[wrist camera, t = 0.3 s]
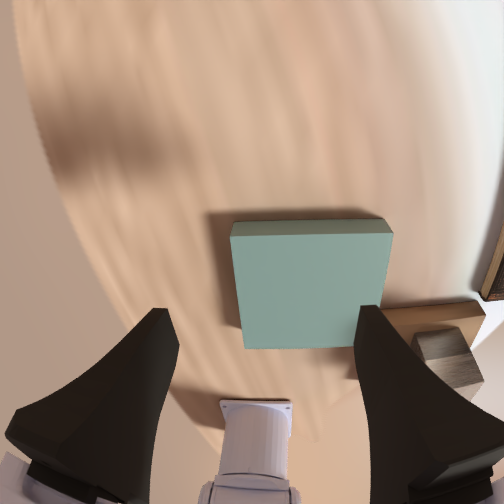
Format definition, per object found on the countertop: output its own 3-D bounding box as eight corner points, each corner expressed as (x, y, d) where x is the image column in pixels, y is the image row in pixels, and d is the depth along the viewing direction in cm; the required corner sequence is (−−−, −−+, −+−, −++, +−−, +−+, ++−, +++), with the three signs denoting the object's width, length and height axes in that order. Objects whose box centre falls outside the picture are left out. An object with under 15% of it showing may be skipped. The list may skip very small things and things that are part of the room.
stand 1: (365, 327, 24) (369, 345, 23) (246, 330, 26) (244, 348, 24) (384, 218, 19) (393, 233, 18) (234, 221, 20) (229, 236, 19)
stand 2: (443, 369, 27) (449, 383, 26) (360, 380, 28) (363, 396, 27) (477, 300, 22) (486, 315, 21) (380, 309, 23) (386, 326, 22)
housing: (431, 382, 26) (445, 431, 20) (391, 388, 26) (402, 440, 21) (458, 327, 21) (484, 381, 16) (414, 332, 22) (436, 392, 17)
